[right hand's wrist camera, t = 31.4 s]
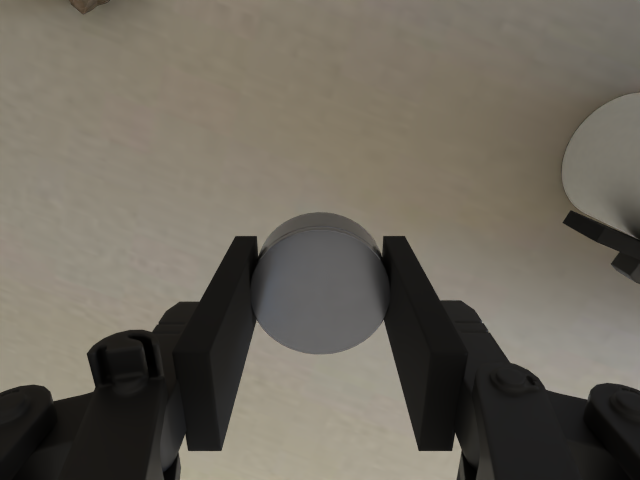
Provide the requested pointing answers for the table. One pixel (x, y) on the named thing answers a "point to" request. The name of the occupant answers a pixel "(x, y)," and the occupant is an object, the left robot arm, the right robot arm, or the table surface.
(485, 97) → the table surface
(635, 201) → the bottle
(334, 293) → the cap
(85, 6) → the stone
